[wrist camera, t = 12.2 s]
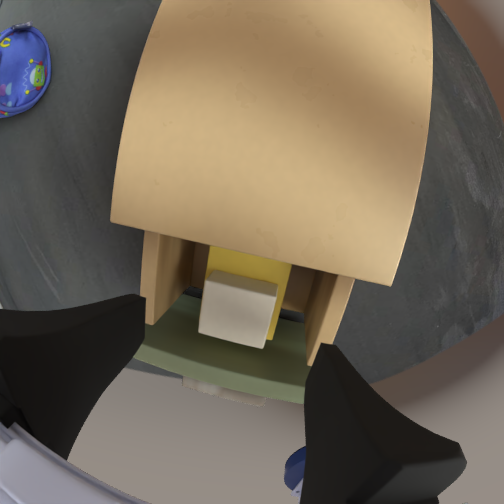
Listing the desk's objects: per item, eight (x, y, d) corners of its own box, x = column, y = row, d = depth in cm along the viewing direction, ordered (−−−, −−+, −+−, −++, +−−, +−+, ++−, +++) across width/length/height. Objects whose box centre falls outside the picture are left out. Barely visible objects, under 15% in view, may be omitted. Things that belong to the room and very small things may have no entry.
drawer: (297, 380, 20) (296, 447, 13) (170, 348, 21) (132, 402, 14) (362, 160, 16) (403, 149, 9) (199, 127, 16) (150, 102, 10)
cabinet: (349, 240, 18) (391, 287, 10) (181, 203, 19) (109, 222, 10) (383, 55, 14) (429, -5, 6) (221, 26, 15) (182, -43, 7)
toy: (275, 312, 18) (269, 358, 13) (214, 297, 18) (188, 337, 13) (292, 245, 16) (293, 273, 12) (225, 230, 17) (199, 251, 12)
